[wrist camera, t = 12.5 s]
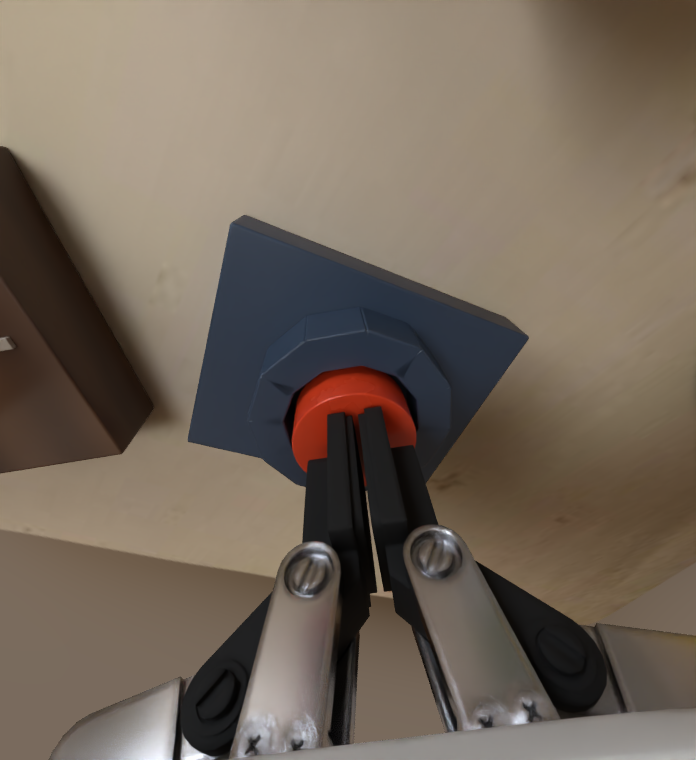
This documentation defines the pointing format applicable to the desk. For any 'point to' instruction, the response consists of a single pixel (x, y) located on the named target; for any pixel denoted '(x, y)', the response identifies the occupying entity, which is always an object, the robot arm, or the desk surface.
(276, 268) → the button box
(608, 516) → the desk surface
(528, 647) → the robot arm
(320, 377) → the button
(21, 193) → the control panel
